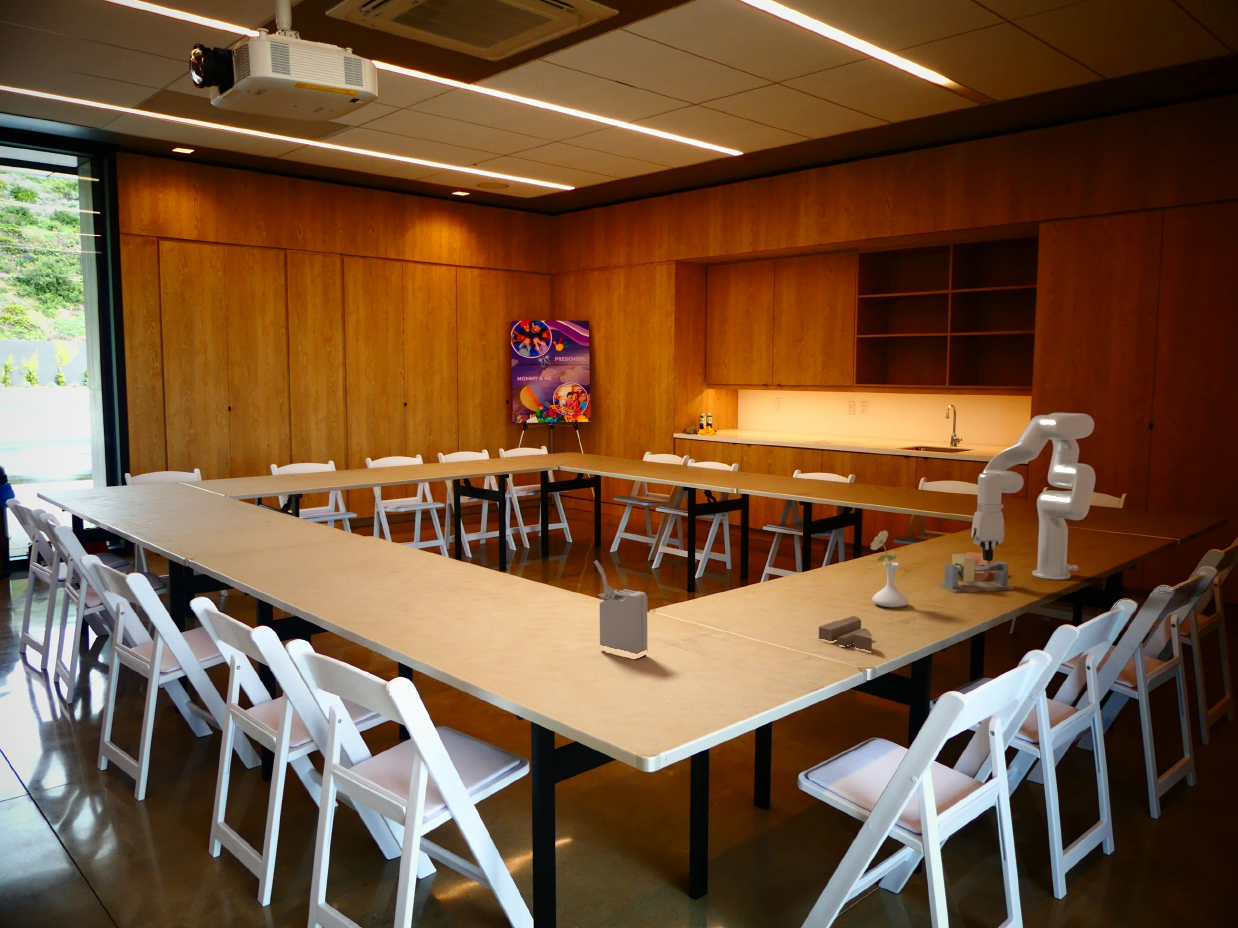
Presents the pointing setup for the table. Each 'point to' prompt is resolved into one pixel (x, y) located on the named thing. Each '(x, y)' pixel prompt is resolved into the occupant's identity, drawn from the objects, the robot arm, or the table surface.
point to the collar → (964, 566)
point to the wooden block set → (847, 633)
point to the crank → (978, 560)
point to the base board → (977, 587)
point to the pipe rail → (997, 567)
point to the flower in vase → (888, 578)
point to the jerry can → (623, 618)
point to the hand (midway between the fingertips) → (987, 560)
